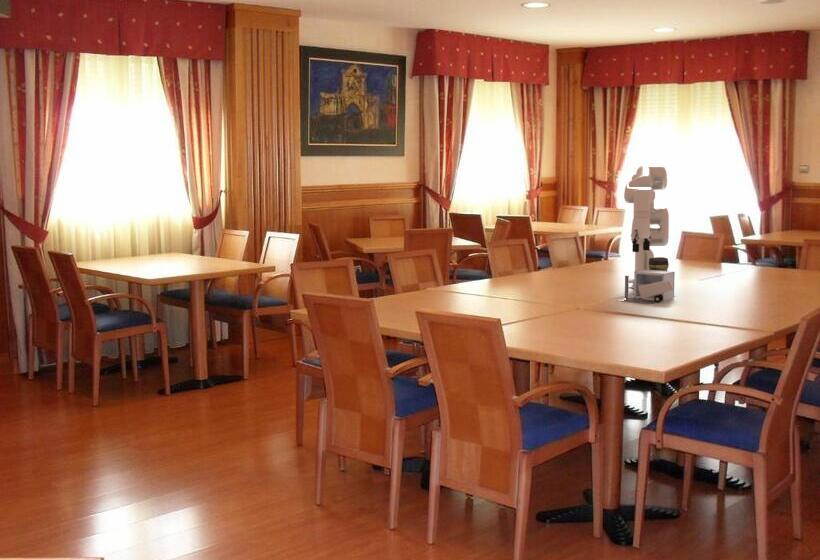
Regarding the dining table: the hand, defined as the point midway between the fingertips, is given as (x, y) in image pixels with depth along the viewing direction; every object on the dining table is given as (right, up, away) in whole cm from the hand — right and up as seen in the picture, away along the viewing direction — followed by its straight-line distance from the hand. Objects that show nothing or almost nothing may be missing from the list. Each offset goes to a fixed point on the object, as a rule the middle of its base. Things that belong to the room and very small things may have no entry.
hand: (641, 251), depth 465 cm
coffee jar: (+14, -21, +25) cm, 36 cm away
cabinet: (+9, -23, +12) cm, 27 cm away
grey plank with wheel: (+1, -21, +2) cm, 21 cm away
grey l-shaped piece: (0, -24, +4) cm, 24 cm away
